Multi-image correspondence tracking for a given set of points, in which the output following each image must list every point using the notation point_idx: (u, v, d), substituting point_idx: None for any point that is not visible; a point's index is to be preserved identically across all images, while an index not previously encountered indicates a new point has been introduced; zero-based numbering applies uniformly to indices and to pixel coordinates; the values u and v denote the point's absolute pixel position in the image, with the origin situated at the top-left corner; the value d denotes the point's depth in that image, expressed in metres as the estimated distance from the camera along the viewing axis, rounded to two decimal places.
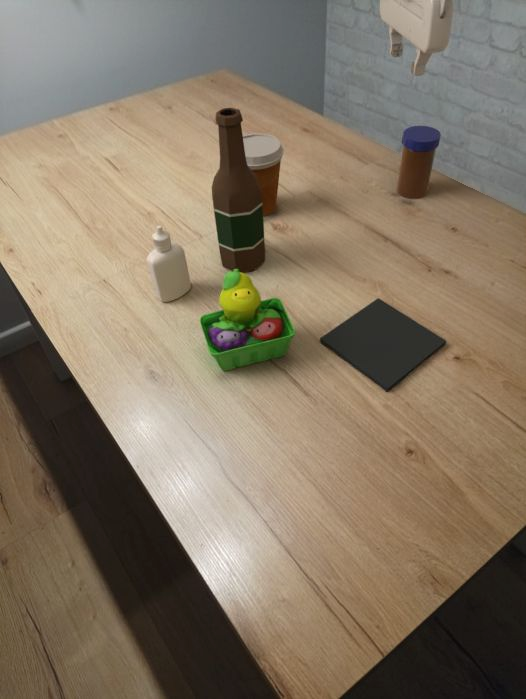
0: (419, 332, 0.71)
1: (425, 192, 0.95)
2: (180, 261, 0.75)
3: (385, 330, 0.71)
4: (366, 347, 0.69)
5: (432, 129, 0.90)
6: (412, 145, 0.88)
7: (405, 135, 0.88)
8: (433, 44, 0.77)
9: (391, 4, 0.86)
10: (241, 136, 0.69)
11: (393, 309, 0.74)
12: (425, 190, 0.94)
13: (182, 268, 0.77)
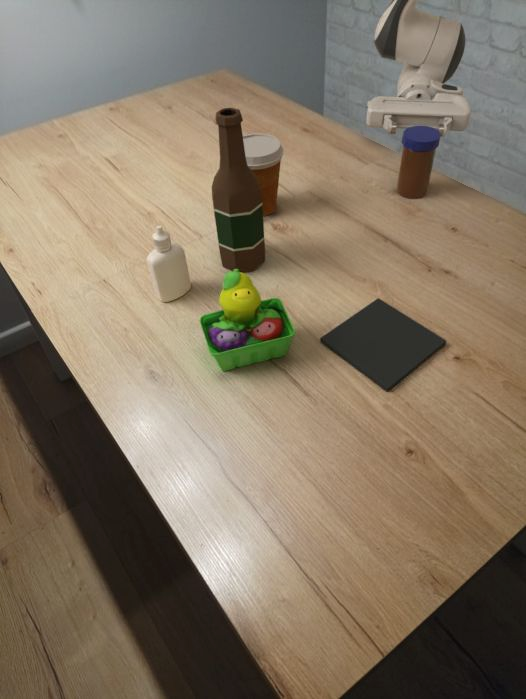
0: (419, 332, 0.71)
1: (425, 192, 0.95)
2: (180, 261, 0.75)
3: (385, 330, 0.71)
4: (366, 347, 0.69)
5: (432, 129, 0.90)
6: (412, 145, 0.88)
7: (405, 135, 0.88)
8: None
9: None
10: (241, 136, 0.69)
11: (393, 309, 0.74)
12: (425, 190, 0.94)
13: (182, 268, 0.77)
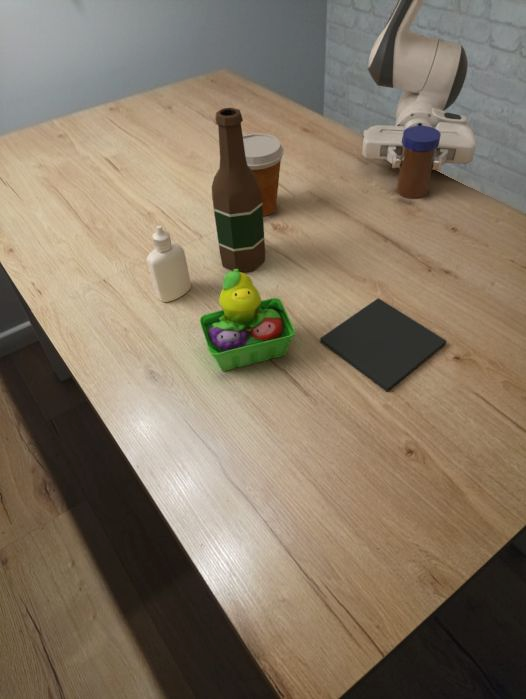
0: (419, 332, 0.71)
1: (425, 192, 0.95)
2: (180, 261, 0.75)
3: (385, 330, 0.71)
4: (366, 347, 0.69)
5: (432, 129, 0.90)
6: (412, 145, 0.88)
7: (405, 135, 0.88)
8: (362, 150, 0.98)
9: None
10: (241, 136, 0.69)
11: (393, 309, 0.74)
12: (425, 190, 0.94)
13: (182, 268, 0.77)
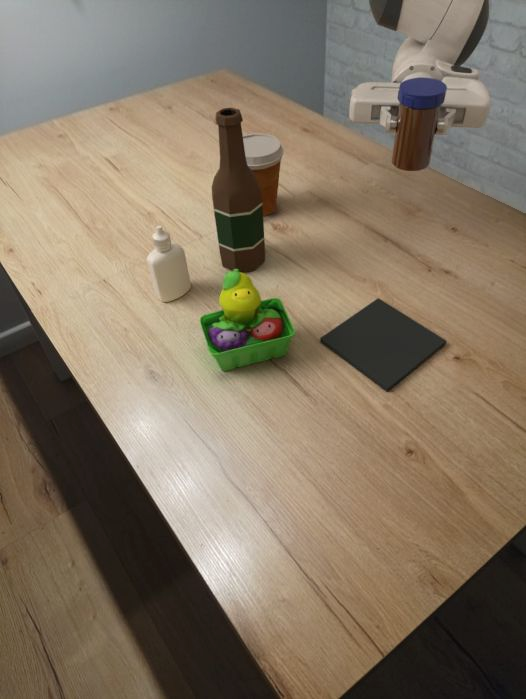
0: (419, 332, 0.71)
1: (427, 163, 0.76)
2: (180, 261, 0.75)
3: (385, 330, 0.71)
4: (366, 347, 0.69)
5: (436, 81, 0.71)
6: (410, 101, 0.69)
7: (402, 88, 0.70)
8: None
9: None
10: (241, 136, 0.69)
11: (393, 309, 0.74)
12: (427, 160, 0.76)
13: (182, 268, 0.77)
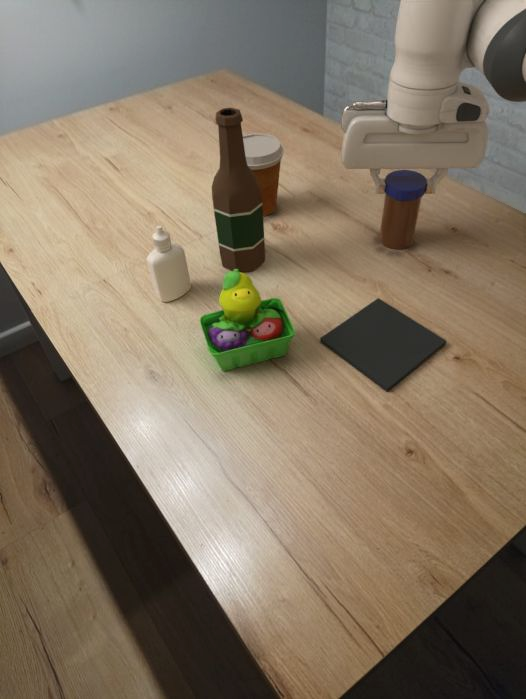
0: (419, 332, 0.71)
1: (410, 242, 0.85)
2: (180, 261, 0.75)
3: (385, 330, 0.71)
4: (366, 347, 0.69)
5: (418, 174, 0.80)
6: (394, 194, 0.78)
7: (387, 182, 0.78)
8: (341, 152, 0.77)
9: None
10: (241, 136, 0.69)
11: (393, 309, 0.74)
12: (410, 240, 0.84)
13: (182, 268, 0.77)
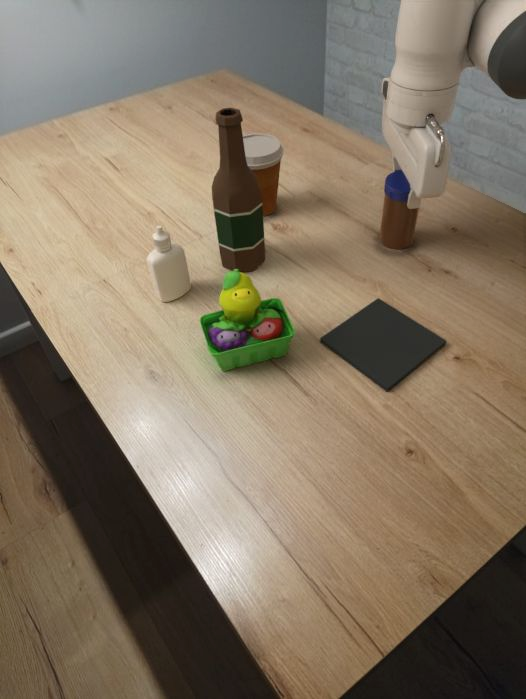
0: (419, 332, 0.71)
1: (410, 242, 0.85)
2: (180, 261, 0.75)
3: (385, 330, 0.71)
4: (366, 347, 0.69)
5: (392, 174, 0.80)
6: None
7: None
8: (427, 191, 0.69)
9: (391, 128, 0.77)
10: (241, 136, 0.69)
11: (393, 309, 0.74)
12: (410, 240, 0.84)
13: (182, 268, 0.77)
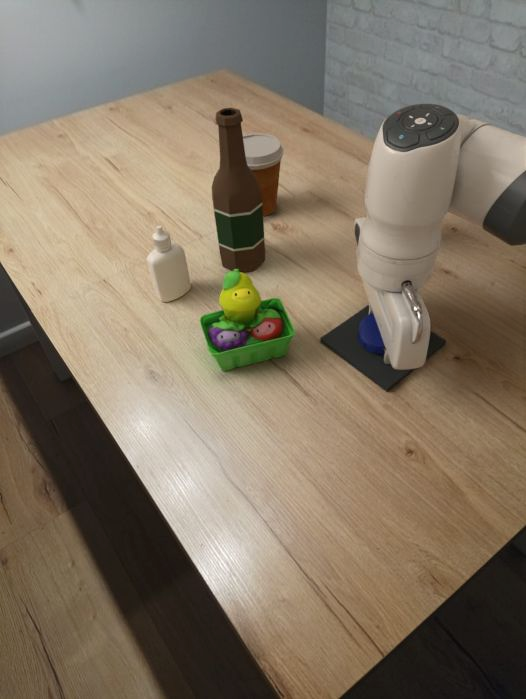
0: None
1: None
2: (180, 261, 0.75)
3: None
4: None
5: (367, 319, 0.70)
6: None
7: None
8: (403, 365, 0.59)
9: None
10: (241, 136, 0.69)
11: None
12: None
13: (182, 268, 0.77)
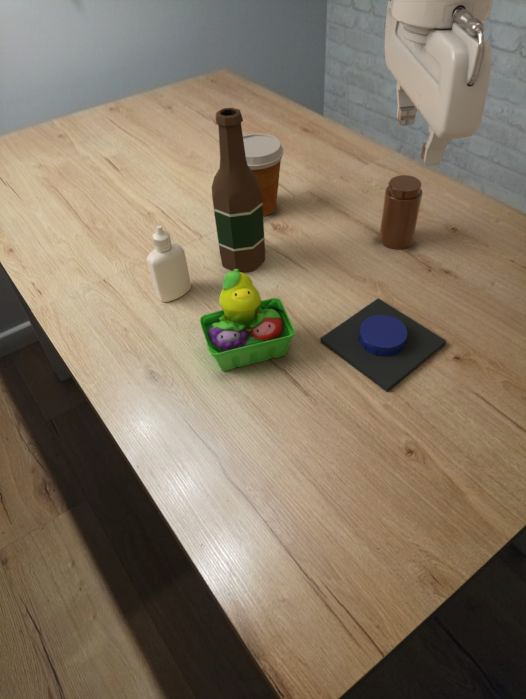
0: (419, 332, 0.71)
1: (410, 242, 0.85)
2: (180, 261, 0.75)
3: None
4: None
5: (368, 321, 0.70)
6: (405, 343, 0.68)
7: (393, 345, 0.67)
8: (453, 126, 0.46)
9: (398, 47, 0.55)
10: (241, 136, 0.69)
11: (393, 309, 0.74)
12: (410, 240, 0.84)
13: (182, 268, 0.77)
